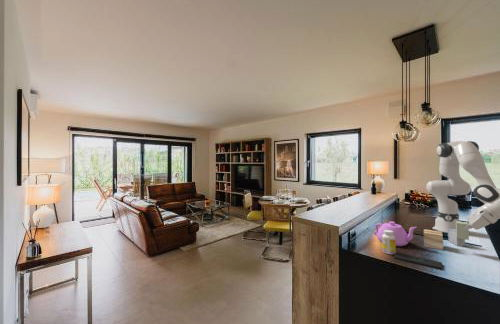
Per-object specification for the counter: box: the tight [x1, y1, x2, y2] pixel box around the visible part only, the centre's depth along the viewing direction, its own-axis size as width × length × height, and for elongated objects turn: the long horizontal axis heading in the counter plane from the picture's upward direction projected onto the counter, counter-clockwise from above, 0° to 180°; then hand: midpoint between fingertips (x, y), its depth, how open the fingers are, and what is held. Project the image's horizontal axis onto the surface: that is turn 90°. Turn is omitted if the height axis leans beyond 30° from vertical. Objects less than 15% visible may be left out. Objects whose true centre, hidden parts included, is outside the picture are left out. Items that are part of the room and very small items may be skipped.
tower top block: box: [423, 228, 444, 244], centre depth 137 cm, size 9×9×4 cm
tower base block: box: [423, 239, 444, 251], centre depth 137 cm, size 9×9×4 cm
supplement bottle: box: [381, 230, 397, 255], centre depth 128 cm, size 7×7×13 cm
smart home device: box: [393, 251, 443, 271], centre depth 116 cm, size 8×2×20 cm
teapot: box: [374, 220, 417, 247], centre depth 143 cm, size 25×18×14 cm
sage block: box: [456, 221, 470, 241], centre depth 128 cm, size 5×5×9 cm
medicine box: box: [447, 229, 466, 247], centre depth 139 cm, size 8×4×9 cm, turn 168°
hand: (463, 228), depth 128 cm, fingers closed on sage block, 5 cm apart
